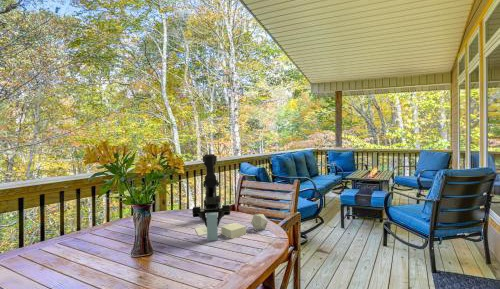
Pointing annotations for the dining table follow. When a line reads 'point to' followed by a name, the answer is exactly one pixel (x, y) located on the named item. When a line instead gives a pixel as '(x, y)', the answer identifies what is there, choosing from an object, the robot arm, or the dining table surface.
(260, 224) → the die
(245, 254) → the dining table surface
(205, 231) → the plate
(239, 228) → the base brick
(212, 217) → the blue brick
